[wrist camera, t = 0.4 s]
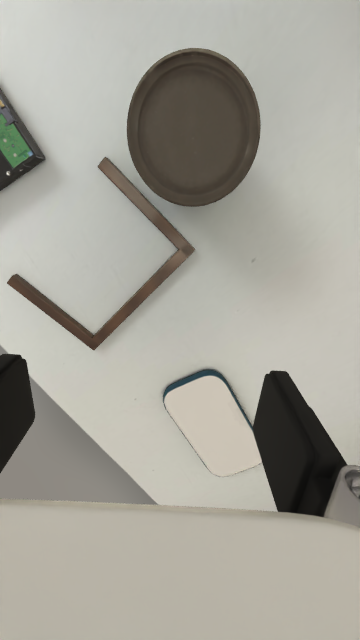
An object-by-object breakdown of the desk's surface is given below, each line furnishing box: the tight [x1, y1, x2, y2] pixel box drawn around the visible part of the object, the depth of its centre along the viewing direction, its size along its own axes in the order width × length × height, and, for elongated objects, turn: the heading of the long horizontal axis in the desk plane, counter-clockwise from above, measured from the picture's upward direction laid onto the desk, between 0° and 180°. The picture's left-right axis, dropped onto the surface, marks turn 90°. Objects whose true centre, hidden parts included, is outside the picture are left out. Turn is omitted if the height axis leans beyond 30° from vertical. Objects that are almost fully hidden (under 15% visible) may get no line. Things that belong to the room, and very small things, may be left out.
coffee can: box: [127, 48, 260, 207], centre depth 28 cm, size 10×10×14 cm
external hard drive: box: [163, 370, 262, 477], centre depth 50 cm, size 24×12×2 cm, turn 28°
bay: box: [7, 157, 195, 350], centre depth 39 cm, size 22×16×1 cm
